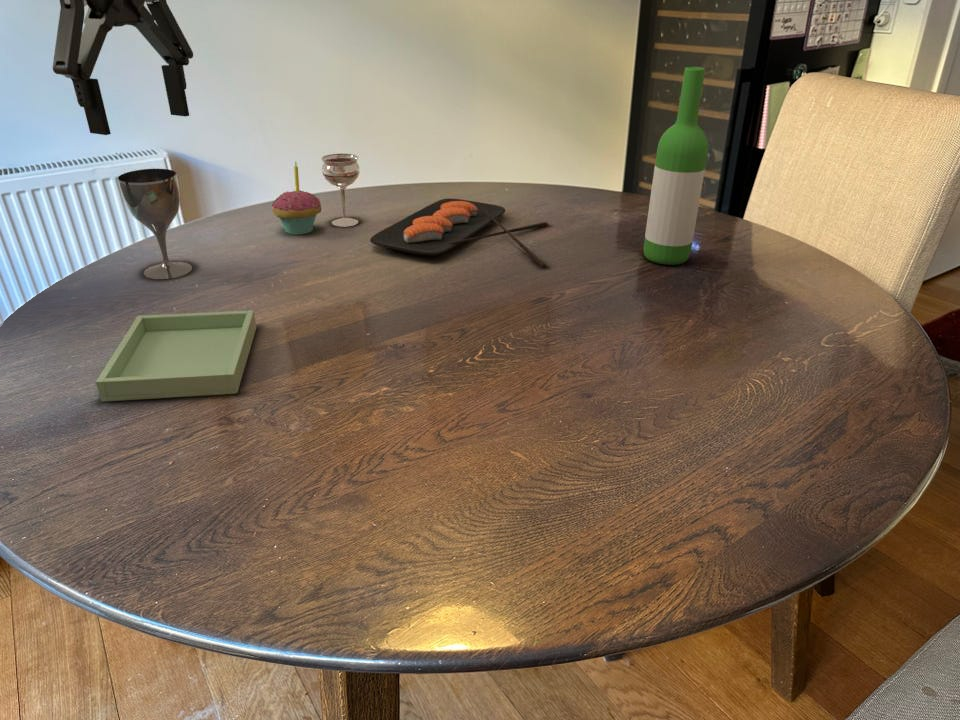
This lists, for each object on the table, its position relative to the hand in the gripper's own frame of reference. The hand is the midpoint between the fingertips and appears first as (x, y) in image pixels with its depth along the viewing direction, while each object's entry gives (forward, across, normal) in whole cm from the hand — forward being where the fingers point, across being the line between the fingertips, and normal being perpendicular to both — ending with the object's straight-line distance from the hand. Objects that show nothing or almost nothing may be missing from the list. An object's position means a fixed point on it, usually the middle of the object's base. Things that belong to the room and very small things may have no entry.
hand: (142, 124), depth 94 cm
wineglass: (+24, +36, -6) cm, 43 cm away
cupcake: (+24, +28, -2) cm, 37 cm away
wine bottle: (+24, +44, -65) cm, 82 cm away
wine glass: (+24, +4, +6) cm, 25 cm away
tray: (+24, -17, -18) cm, 34 cm away
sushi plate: (+24, +38, -33) cm, 56 cm away
